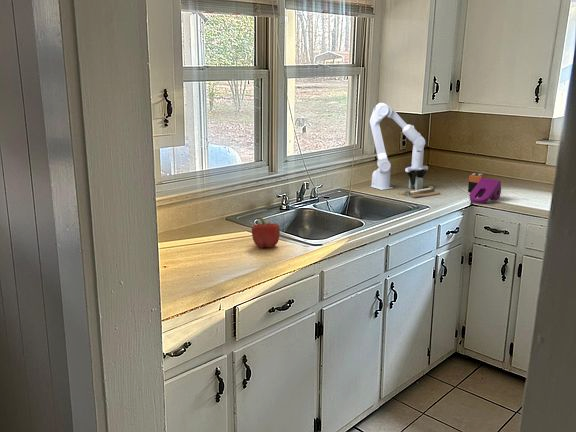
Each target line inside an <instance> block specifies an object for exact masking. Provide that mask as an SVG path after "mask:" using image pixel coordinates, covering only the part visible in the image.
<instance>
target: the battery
mask: <svg viewBox="0 0 576 432" xmlns="http://www.w3.org/2000/svg"><path fill="white" fill-rule="evenodd" d="M481 178H486V176H485V175H484V174H483V173H478V174H477V173H476V172H475V173H474V172H473V173H472V174H469V177H468V187H467V192H468V193H469V194H470V193H471V191H472V190H473V189H474V187H475V186H476V185H477V184H478V182H479V181H480V180H481Z"/></svg>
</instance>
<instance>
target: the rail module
mask: <svg viewBox="0 0 576 432" xmlns="http://www.w3.org/2000/svg"><path fill="white" fill-rule="evenodd" d="M408 178H409V177H408ZM423 184H424V177H423V178H420V177H417V176H416V178H415V184H414V185H411V183H410V178H409V179H408V189H414V190H420V189H423Z"/></svg>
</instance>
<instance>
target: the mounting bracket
mask: <svg viewBox="0 0 576 432" xmlns="http://www.w3.org/2000/svg"><path fill="white" fill-rule="evenodd" d="M501 194H502V184H501V180H499V179H492V178H486V177H485V178H481V180H480V181H479V182H478V184H477V185H476V186H475V187H474V189H473V190H472V191H471V193H470V192H469V195H468V196H469V201H470V202H471V203H472V204H479V205H481V204H485V203H488V202H489V200H492V201H499V199H500V197H501Z"/></svg>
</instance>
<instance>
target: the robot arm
mask: <svg viewBox="0 0 576 432" xmlns="http://www.w3.org/2000/svg"><path fill="white" fill-rule="evenodd" d="M372 109H373V110H372V113H371V116H370V118H369V124H370V129H371V134H372V139H373V143H374V146H375V152H376V157H377V162H376V165H377V167H378V168H377V169H375V170H374V171H373V172H372V175H371V185H370V187H371V188H373V189H377V190H379V191H380V190H381V191H384V190H390V189H391V190H392V189H394V187H392V186H391V185H390V184H391V168H392V164H391V162H390V161H389V159H388V155H387V151H386V148H385V143H384V139H383V134H382V133H383V132H382V130H381V129H382V128H381V125H380V124H381V121H383V119H384V118H386V117H387V118H389V119H392V120H393V121H394V122H395V123H396V124H397V125H398V126H399V127H400V128H401V129H402V130H401V131H402V132H401V133H402V134H403V135H404V136H405V137H406V138H407V139H408V140H409V141H410V142H411V143H412V155H411V166H408V167H406V168H404V169H405V171H404V172H406V173H407V175H408V178H410V183H411V185H414V184H415V178H416V177H420V178H423V179H424V176H425V175H426V173H427V171H428V170H429V166H428V165H423V164H424V153H425V152H424V151H425V150H424V148H425V145H426V143H427V142H426V139H425V138H424V137H423V136H422V135H421V132H419V131H417V129H416V128H415V126H414V124H408V123H407V122H406V121H405V120H403V118H402V117H401V116H400V115H399V114H398V113H397V112H396V111H395V110H394V109H393V108H392V107H390V106H389V105H388V104H386V103H385V102H379V103H377V104H376V105H375V107H373V108H372Z"/></svg>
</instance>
